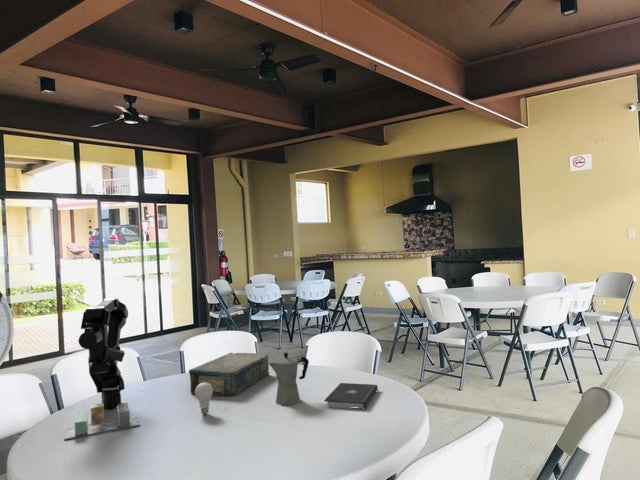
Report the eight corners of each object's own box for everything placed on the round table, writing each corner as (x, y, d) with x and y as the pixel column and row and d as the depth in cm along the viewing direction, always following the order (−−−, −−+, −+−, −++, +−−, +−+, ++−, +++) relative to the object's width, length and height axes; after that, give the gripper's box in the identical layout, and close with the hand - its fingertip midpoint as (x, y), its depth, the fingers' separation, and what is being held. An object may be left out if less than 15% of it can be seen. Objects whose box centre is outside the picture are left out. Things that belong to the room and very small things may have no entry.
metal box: (187, 394, 192) (186, 369, 192) (230, 373, 222) (229, 351, 223) (234, 398, 185) (233, 372, 185) (271, 375, 215) (270, 353, 215)
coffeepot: (274, 408, 170) (272, 357, 170) (267, 400, 179) (265, 352, 179) (314, 400, 176) (312, 351, 176) (305, 394, 185) (303, 347, 185)
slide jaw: (75, 435, 150) (74, 422, 150) (76, 425, 159) (75, 413, 159) (87, 433, 152) (86, 420, 152) (87, 423, 161) (87, 411, 161)
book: (365, 411, 164) (364, 403, 164) (324, 409, 168) (323, 400, 169) (378, 392, 184) (377, 384, 184) (341, 390, 189) (340, 382, 189)
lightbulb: (217, 411, 169) (215, 380, 169) (207, 418, 163) (206, 385, 163) (202, 410, 171) (200, 379, 171) (192, 416, 165) (191, 384, 165)
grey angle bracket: (64, 440, 149) (63, 422, 149) (66, 430, 158) (65, 413, 158) (139, 426, 158) (139, 409, 159) (137, 417, 167) (136, 400, 168)
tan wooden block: (91, 422, 164) (90, 408, 164) (91, 419, 168) (90, 404, 168) (104, 420, 166) (103, 406, 166) (104, 417, 169) (103, 402, 169)
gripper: (124, 344, 162) (126, 390, 162) (120, 335, 179) (122, 377, 179) (88, 348, 157) (90, 396, 157) (87, 339, 174) (89, 382, 174)
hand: (99, 387), depth 167 cm, fingers open, 9 cm apart
